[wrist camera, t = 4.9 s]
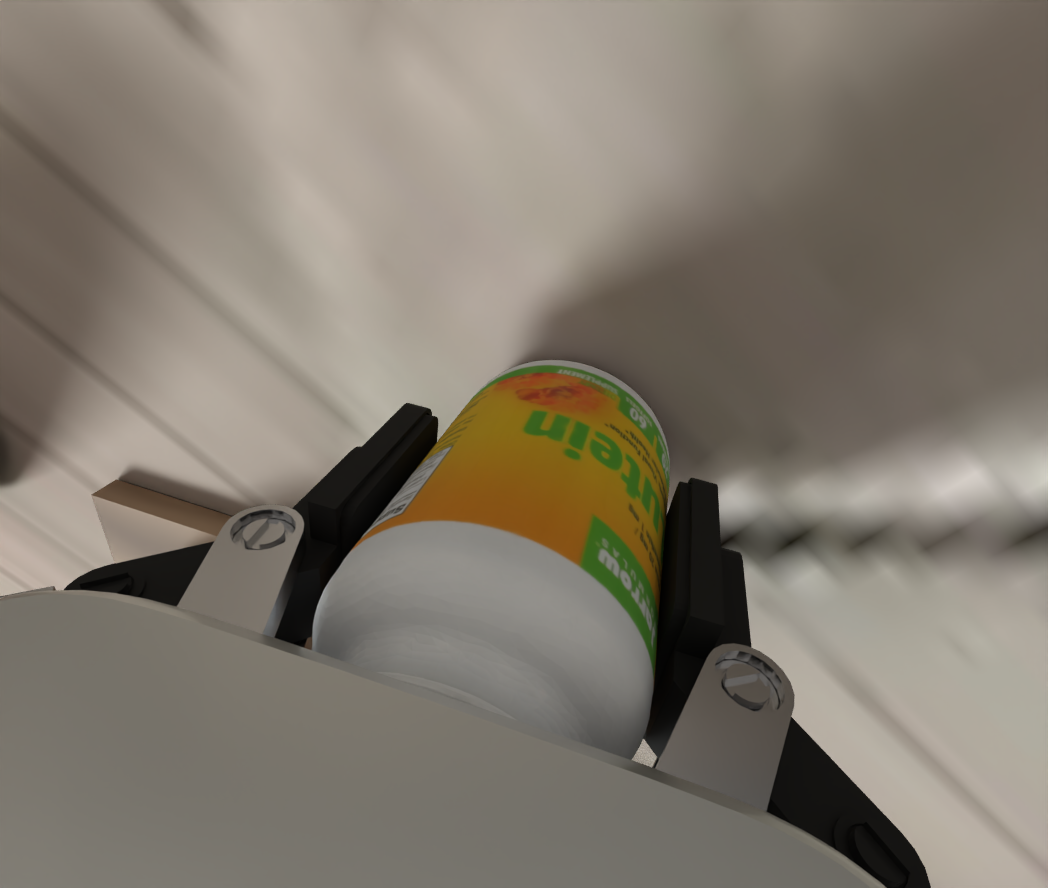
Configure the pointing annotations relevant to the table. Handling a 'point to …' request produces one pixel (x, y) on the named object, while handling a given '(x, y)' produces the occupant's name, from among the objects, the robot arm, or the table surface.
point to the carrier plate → (151, 521)
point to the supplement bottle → (521, 560)
